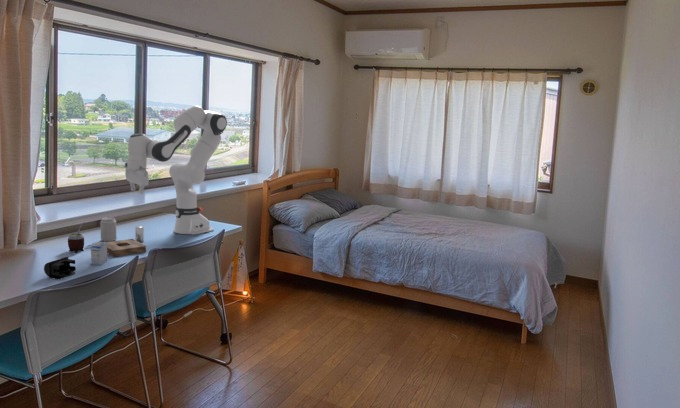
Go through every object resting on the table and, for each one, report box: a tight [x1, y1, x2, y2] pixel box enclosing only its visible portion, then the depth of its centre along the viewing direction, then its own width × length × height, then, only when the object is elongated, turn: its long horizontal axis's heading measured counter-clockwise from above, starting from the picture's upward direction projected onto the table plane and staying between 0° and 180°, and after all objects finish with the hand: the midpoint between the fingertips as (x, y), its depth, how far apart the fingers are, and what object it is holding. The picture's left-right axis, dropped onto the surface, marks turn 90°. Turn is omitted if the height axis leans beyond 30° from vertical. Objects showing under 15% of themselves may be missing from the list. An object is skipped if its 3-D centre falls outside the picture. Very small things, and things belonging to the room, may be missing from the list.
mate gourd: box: [67, 222, 86, 254], centre depth 253 cm, size 8×8×15 cm
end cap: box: [43, 256, 76, 280], centre depth 220 cm, size 10×7×7 cm
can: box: [99, 216, 118, 242], centre depth 274 cm, size 8×8×12 cm
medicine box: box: [90, 241, 108, 266], centre depth 239 cm, size 8×4×9 cm, turn 5°
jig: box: [107, 238, 147, 258], centre depth 260 cm, size 16×16×3 cm
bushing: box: [134, 225, 145, 244], centre depth 276 cm, size 4×4×8 cm
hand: (137, 192), depth 273 cm, fingers open, 8 cm apart
